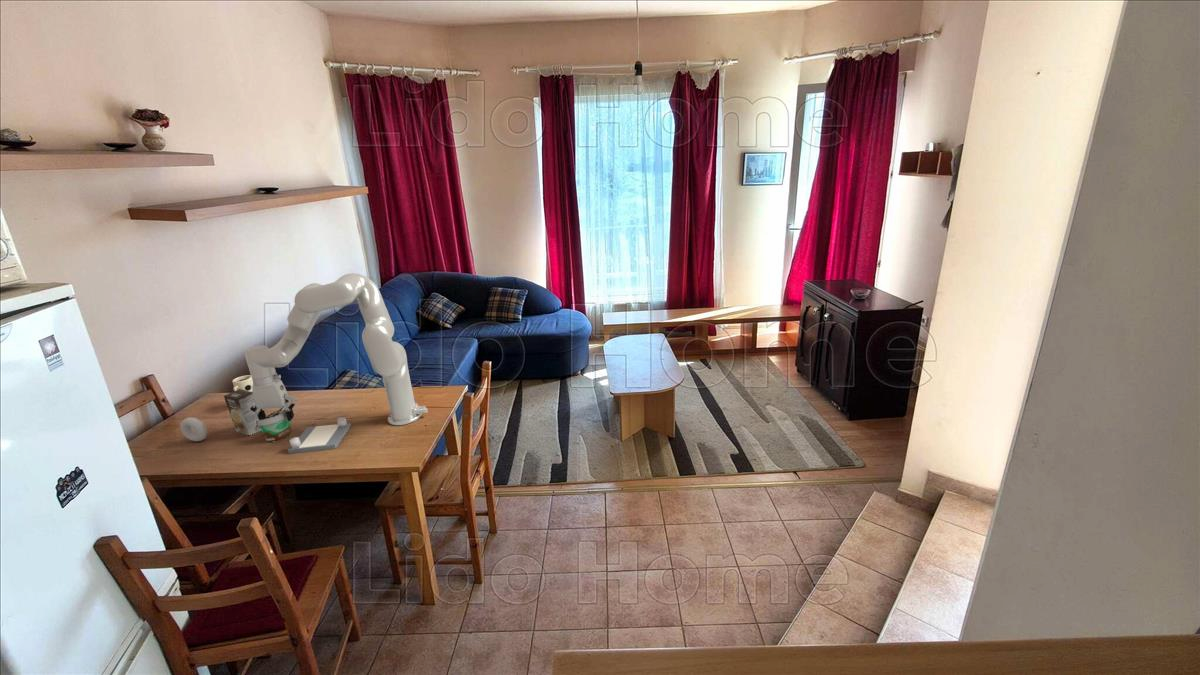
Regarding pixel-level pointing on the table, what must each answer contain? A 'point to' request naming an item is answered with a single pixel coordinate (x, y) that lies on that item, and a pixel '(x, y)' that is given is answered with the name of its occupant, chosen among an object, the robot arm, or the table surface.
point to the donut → (197, 425)
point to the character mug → (243, 383)
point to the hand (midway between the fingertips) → (277, 420)
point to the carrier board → (319, 437)
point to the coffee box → (242, 412)
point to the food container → (275, 426)
